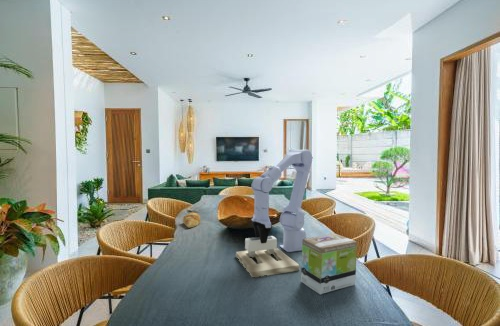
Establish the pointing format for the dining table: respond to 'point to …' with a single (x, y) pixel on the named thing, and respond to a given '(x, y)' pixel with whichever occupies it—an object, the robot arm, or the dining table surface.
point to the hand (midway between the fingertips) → (261, 241)
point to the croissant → (191, 219)
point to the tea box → (328, 262)
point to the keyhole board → (267, 263)
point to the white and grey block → (260, 245)
